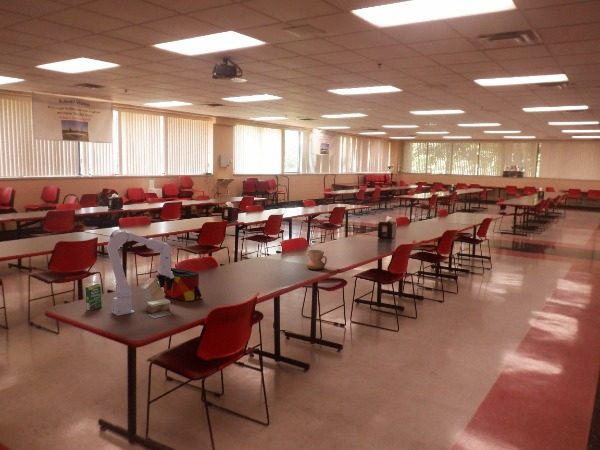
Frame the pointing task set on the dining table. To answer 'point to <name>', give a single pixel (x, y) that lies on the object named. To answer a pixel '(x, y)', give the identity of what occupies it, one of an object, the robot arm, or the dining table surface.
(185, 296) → the bag
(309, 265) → the ceramic jug
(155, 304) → the lid
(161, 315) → the mat
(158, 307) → the pen box
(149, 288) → the supplement box
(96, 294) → the coffee box
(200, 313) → the dining table surface
